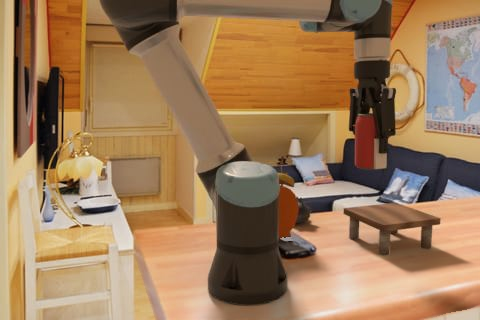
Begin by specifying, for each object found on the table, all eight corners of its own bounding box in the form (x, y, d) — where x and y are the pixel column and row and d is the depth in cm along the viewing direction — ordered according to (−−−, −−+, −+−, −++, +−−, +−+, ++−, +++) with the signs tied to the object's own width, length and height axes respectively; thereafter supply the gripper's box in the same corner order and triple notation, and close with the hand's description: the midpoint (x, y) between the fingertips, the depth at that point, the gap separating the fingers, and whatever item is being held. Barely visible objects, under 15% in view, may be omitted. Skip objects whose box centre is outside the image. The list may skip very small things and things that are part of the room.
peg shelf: (382, 257, 103) (383, 225, 102) (342, 236, 118) (343, 208, 117) (438, 248, 109) (440, 218, 108) (394, 229, 124) (395, 202, 123)
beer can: (386, 170, 99) (388, 114, 97) (355, 170, 100) (355, 114, 98) (384, 165, 105) (385, 112, 103) (354, 165, 107) (355, 113, 105)
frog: (295, 230, 124) (295, 202, 123) (267, 220, 134) (267, 193, 133) (321, 223, 130) (321, 197, 129) (292, 214, 140) (292, 189, 138)
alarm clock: (283, 233, 121) (284, 158, 118) (298, 240, 116) (300, 161, 113) (241, 243, 113) (240, 163, 110) (255, 250, 108) (255, 166, 105)
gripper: (417, 56, 91) (413, 171, 95) (361, 62, 109) (359, 158, 113) (385, 57, 89) (382, 174, 92) (333, 62, 107) (332, 160, 111)
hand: (370, 165), depth 103 cm, fingers closed on beer can, 7 cm apart
